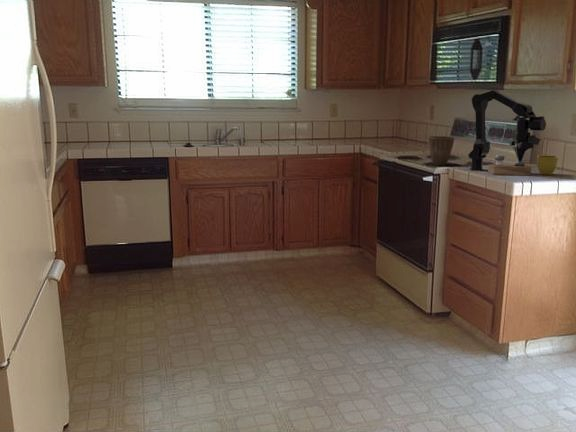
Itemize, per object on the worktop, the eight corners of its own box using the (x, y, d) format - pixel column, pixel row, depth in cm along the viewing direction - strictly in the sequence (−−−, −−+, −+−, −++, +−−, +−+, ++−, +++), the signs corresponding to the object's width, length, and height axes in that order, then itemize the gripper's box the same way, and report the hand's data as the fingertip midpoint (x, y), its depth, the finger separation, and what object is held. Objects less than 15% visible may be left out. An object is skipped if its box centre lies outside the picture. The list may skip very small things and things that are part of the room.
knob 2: (513, 172, 278) (514, 160, 277) (522, 172, 278) (523, 161, 276) (515, 173, 274) (516, 161, 273) (525, 173, 273) (526, 161, 272)
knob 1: (493, 166, 278) (494, 155, 277) (502, 166, 278) (503, 155, 277) (495, 167, 274) (496, 156, 273) (504, 167, 274) (505, 156, 273)
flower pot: (556, 175, 269) (557, 157, 267) (536, 174, 272) (538, 156, 270) (554, 173, 277) (556, 155, 275) (535, 172, 280) (537, 155, 278)
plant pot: (458, 165, 316) (459, 137, 313) (435, 166, 312) (437, 138, 308) (443, 162, 330) (444, 136, 327) (421, 163, 326) (423, 136, 322)
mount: (487, 172, 282) (488, 164, 281) (524, 172, 280) (524, 164, 279) (493, 174, 272) (493, 166, 271) (530, 175, 270) (531, 167, 270)
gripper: (546, 130, 262) (543, 163, 265) (533, 129, 280) (530, 159, 283) (522, 130, 263) (519, 163, 266) (510, 129, 281) (508, 159, 284)
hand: (519, 161), depth 275 cm, fingers closed, pressing on knob 2
